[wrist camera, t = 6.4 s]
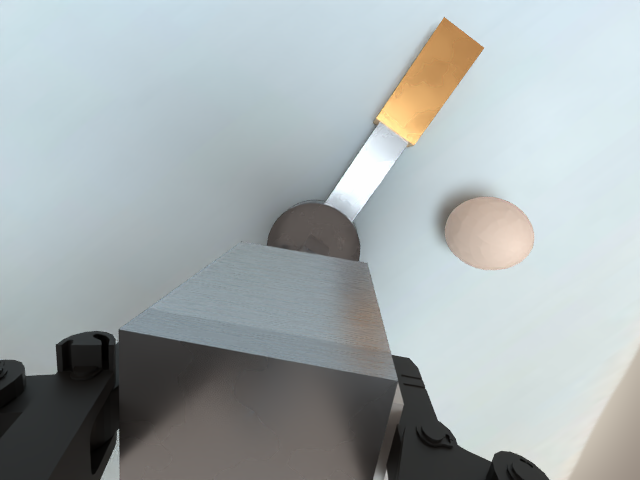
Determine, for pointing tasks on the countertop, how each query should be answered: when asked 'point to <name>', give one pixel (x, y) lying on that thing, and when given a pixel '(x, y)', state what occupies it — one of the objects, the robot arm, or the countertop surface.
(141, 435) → the grey rectangular block
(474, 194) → the countertop surface
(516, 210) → the egg
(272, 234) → the ratchet
